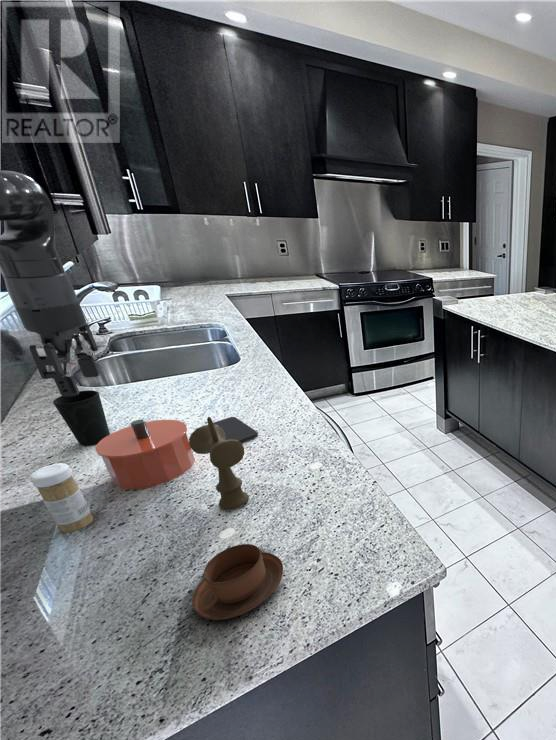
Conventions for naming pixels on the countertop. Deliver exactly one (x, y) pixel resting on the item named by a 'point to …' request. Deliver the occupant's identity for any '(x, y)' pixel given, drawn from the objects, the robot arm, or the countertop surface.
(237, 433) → the phone
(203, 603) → the cup and saucer
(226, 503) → the kendama
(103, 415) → the cup
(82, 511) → the sprinkles bottle
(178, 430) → the pot lid
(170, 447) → the pot
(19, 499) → the countertop surface
